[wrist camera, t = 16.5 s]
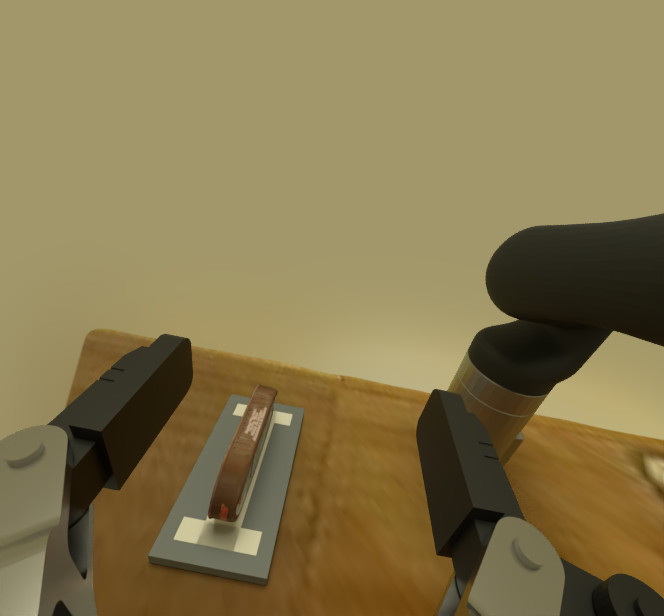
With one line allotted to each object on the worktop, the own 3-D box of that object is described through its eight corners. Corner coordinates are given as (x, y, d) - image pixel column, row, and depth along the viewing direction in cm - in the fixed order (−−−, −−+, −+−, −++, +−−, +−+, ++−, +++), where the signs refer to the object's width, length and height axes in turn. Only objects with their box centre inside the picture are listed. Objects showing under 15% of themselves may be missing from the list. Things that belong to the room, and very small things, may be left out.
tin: (254, 413, 43) (258, 368, 39) (277, 418, 43) (282, 373, 39) (205, 535, 30) (202, 487, 25) (237, 542, 30) (239, 494, 25)
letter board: (303, 415, 46) (304, 408, 45) (265, 585, 28) (267, 578, 28) (231, 401, 46) (231, 393, 45) (150, 562, 28) (147, 555, 28)
